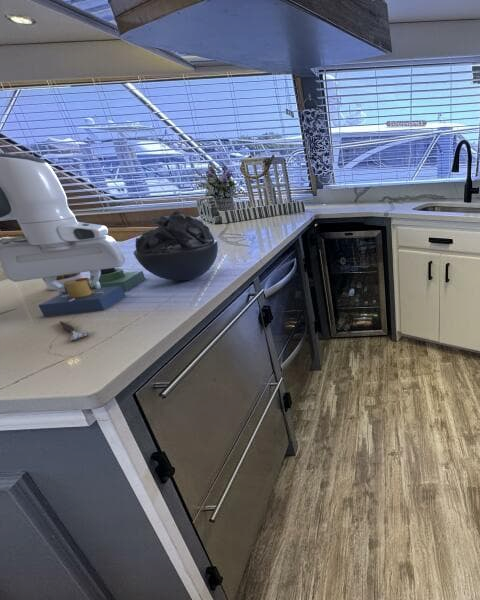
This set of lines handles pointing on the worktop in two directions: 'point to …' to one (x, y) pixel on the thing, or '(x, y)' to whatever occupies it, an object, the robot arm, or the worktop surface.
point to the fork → (70, 329)
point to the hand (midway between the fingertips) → (81, 291)
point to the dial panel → (82, 302)
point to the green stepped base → (120, 279)
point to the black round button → (107, 271)
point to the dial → (78, 287)
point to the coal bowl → (177, 248)
